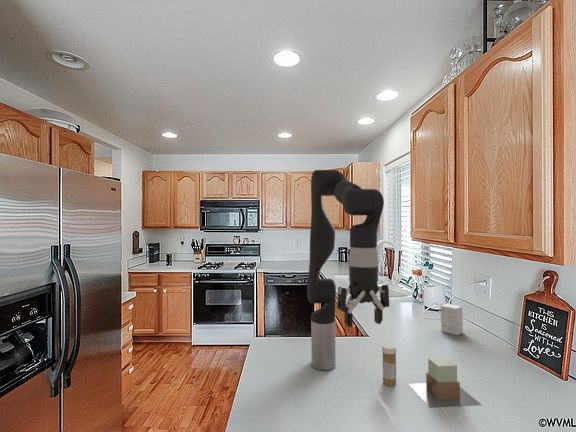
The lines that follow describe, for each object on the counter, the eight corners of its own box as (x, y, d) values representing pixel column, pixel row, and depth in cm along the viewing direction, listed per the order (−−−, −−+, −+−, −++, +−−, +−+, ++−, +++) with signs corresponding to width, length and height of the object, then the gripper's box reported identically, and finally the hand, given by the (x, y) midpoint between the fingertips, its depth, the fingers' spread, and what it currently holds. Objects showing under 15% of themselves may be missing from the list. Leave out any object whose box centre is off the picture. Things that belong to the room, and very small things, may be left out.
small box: (463, 332, 161) (462, 306, 162) (457, 335, 157) (457, 308, 158) (446, 328, 168) (446, 303, 168) (440, 331, 164) (440, 305, 164)
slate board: (408, 387, 109) (408, 384, 109) (453, 384, 110) (453, 381, 110) (429, 411, 95) (429, 407, 95) (481, 408, 96) (481, 404, 96)
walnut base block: (426, 388, 106) (426, 373, 106) (446, 387, 106) (446, 372, 106) (438, 400, 99) (437, 383, 99) (460, 399, 99) (459, 382, 100)
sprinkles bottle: (386, 381, 113) (385, 342, 113) (399, 386, 110) (398, 345, 110) (380, 386, 109) (379, 346, 110) (393, 391, 106) (392, 349, 106)
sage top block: (428, 373, 105) (428, 358, 106) (446, 372, 106) (445, 357, 106) (438, 382, 99) (438, 366, 100) (457, 381, 100) (456, 365, 100)
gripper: (378, 260, 92) (379, 318, 92) (332, 263, 88) (333, 323, 88) (394, 264, 85) (395, 326, 85) (345, 267, 81) (346, 332, 81)
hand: (363, 324), depth 87 cm, fingers open, 8 cm apart
